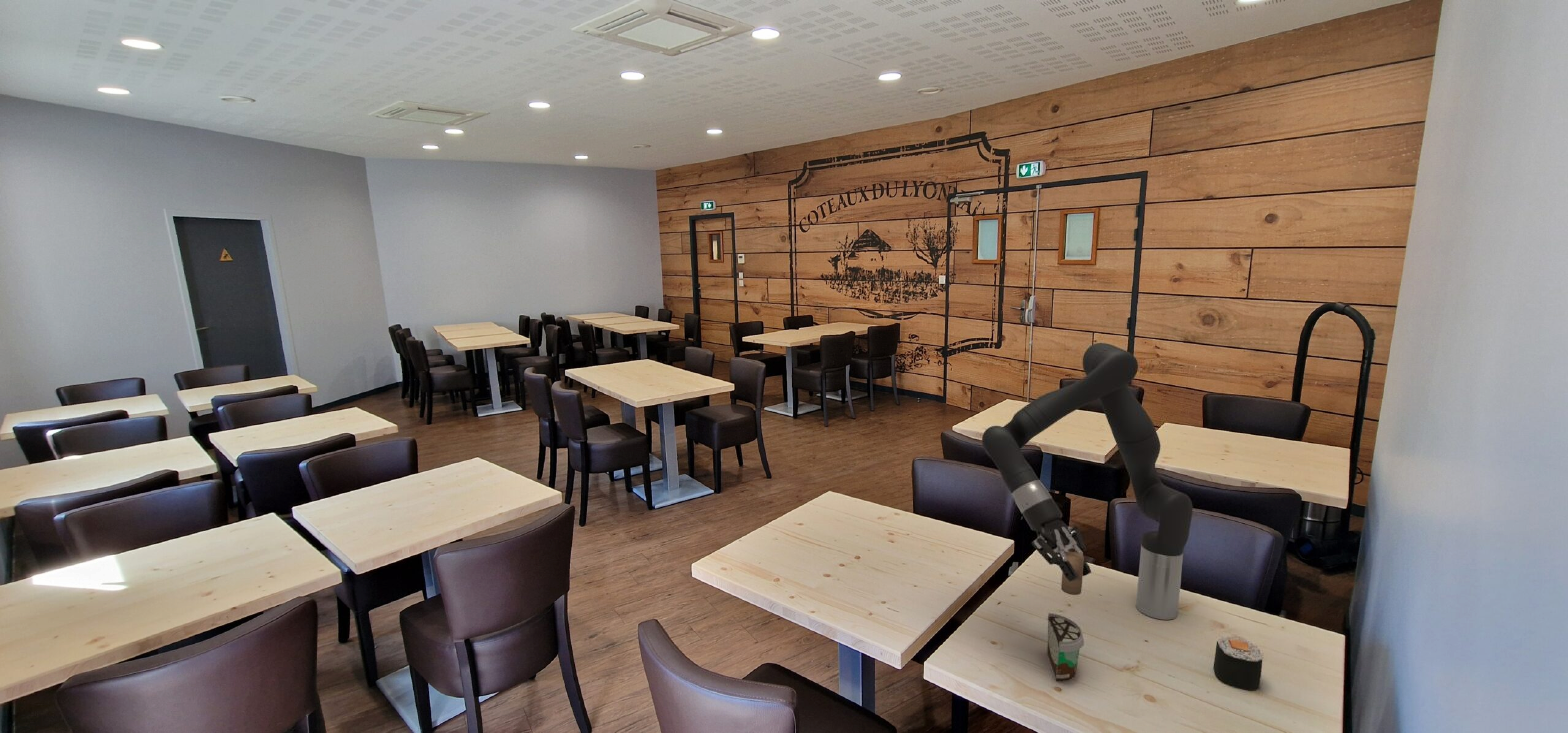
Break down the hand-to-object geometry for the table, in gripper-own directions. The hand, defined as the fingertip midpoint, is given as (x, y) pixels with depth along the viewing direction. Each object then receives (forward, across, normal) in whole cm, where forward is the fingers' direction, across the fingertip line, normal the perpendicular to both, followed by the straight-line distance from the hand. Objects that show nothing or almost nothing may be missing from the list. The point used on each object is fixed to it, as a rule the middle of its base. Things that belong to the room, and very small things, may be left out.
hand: (1080, 576), depth 134 cm
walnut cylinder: (+2, 0, +4) cm, 4 cm away
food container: (+15, 0, +18) cm, 23 cm away
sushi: (+30, +29, +3) cm, 42 cm away
